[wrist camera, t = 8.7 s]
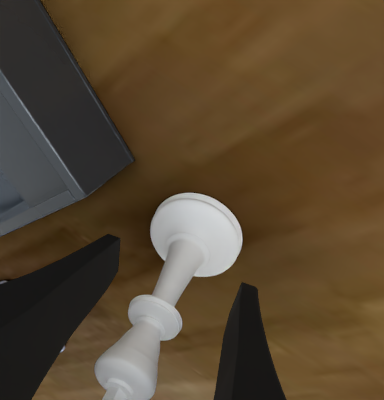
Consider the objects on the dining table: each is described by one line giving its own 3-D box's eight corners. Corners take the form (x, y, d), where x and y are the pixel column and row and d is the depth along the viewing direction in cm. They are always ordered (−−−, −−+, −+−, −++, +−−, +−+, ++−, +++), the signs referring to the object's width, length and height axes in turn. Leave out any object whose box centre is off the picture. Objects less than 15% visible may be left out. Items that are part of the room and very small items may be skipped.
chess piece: (137, 208, 16) (-36, 397, 8) (216, 178, 14) (95, 400, 5) (180, 276, 17) (76, 497, 9) (258, 259, 15) (215, 533, 7)
